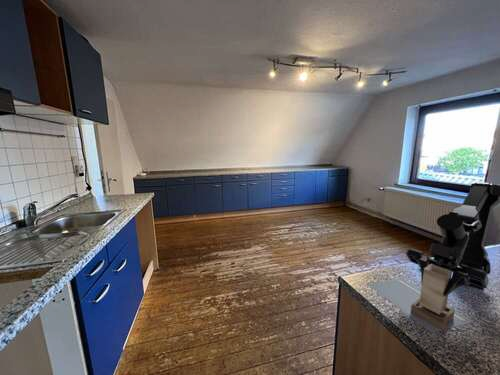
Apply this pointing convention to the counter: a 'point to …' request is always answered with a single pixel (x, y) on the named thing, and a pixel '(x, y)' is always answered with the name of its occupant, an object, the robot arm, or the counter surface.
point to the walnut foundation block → (433, 315)
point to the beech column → (434, 288)
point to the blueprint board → (411, 301)
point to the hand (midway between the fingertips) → (433, 290)
